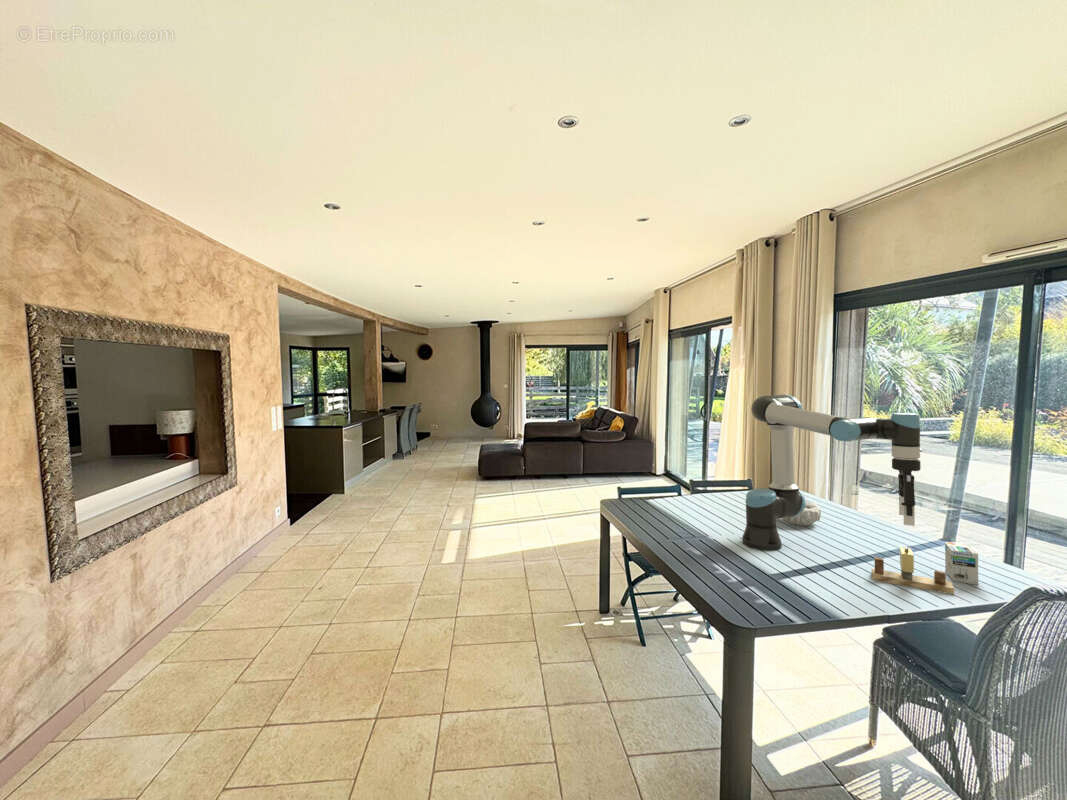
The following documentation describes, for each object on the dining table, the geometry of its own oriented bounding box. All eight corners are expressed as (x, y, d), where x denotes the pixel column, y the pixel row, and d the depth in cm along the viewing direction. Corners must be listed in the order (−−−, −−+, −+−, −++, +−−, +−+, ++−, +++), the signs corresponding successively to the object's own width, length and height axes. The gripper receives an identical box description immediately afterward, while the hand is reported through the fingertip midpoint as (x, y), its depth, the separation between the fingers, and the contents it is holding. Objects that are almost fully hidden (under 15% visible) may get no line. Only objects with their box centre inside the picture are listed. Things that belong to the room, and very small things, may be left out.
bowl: (832, 529, 210) (832, 508, 210) (789, 530, 210) (788, 509, 210) (806, 517, 231) (805, 498, 231) (766, 518, 231) (766, 499, 231)
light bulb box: (979, 585, 149) (979, 553, 149) (952, 581, 153) (952, 550, 152) (969, 574, 158) (969, 544, 158) (944, 570, 162) (944, 541, 161)
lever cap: (902, 571, 150) (902, 550, 150) (899, 564, 156) (899, 543, 156) (913, 573, 148) (913, 551, 148) (911, 565, 154) (910, 545, 154)
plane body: (872, 579, 155) (872, 560, 155) (871, 573, 160) (871, 554, 160) (954, 594, 143) (954, 572, 143) (950, 587, 148) (950, 566, 148)
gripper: (926, 464, 139) (927, 531, 140) (915, 454, 160) (915, 512, 160) (895, 462, 143) (896, 527, 144) (888, 453, 164) (889, 510, 164)
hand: (906, 520), depth 152 cm, fingers open, 13 cm apart
